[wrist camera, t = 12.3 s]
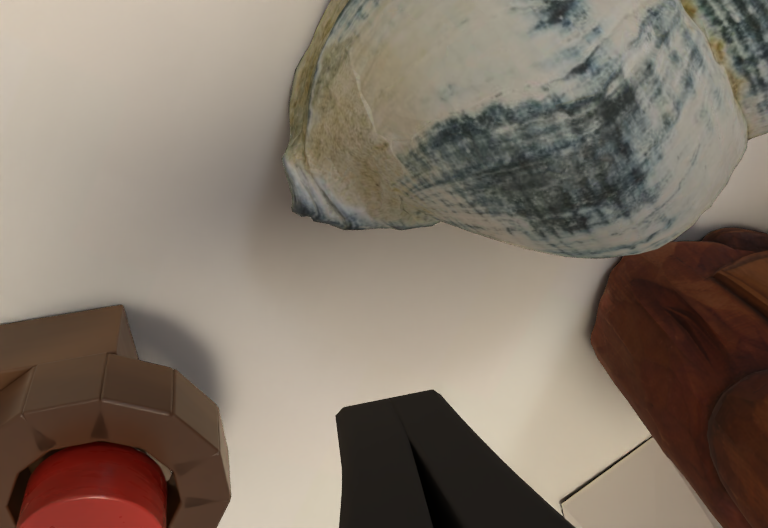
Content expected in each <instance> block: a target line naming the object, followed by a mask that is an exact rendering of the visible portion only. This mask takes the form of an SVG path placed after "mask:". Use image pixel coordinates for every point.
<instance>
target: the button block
mask: <svg viewBox="0 0 768 528" xmlns="http://www.w3.org/2000/svg"><path fill="white" fill-rule="evenodd" d="M91 442H110V443H115V444H120V445H126V446H130V447H133V448H136V449H138V450H140V451H142V452H144V453H145V454H147V455H148V456H150V457H151V458H152V459H153V460H154V461H155V462H156V463H157V464H158V465H159V466H160V468H161V470H162V471H163V473H164V475H165V478H166V482H167V514H166V528H217V526H218V524H219V522H220V520H221V518H222V516H223V514H224V512H225V510H226V508H227V506H228V504H229V502H230V499H231V486H230V471H229V455H228V448H227V443H226V439H225V434H224V430H223V425H222V421H221V416H220V412H219V408H218V407H217V405H216V404H215V403H214V402H213V401H212V400H211V399H210V398H208V397H207V396H206V395H205V394H204V393H203V392H202V391H200V390H199V389H198V388H197V387H196V386H195V385H193V384H192V383H191V382H190V381H189V380H188V379H187V378H185V377H184V376H183V375H182V374H181V373H180V372H178V371H177V370H176V369H174V370H173V369H172V368H170V367H166V366H162V365H158V364H153V363H149V362H145V361H141V360H139V359H138V356H137V352H136V349H135V345H134V341H133V338H132V334H131V331H130V327H129V324H128V320H127V317H126V313H125V310H124V306H123V305H116V306H111V307H105V308H99V309H93V310H87V311H81V312H75V313H69V314H63V315H57V316H51V317H45V318H39V319H33V320H27V321H21V322H15V323H9V324H3V325H0V528H16V525H17V521H18V517H19V514H20V510H21V506H22V502H23V498H24V494H25V490H26V487H27V483H28V480H29V478H30V476H31V474H32V473H33V471H34V470H35V469H36V468H37V467H38V466H39V464H40V463H41V462H43V461H44V460H45V459H46V458H48V457H49V456H51V455H52V454H54V453H56V452H58V451H60V450H62V449H64V448H67V447H71V446H76V445H81V444H86V443H91ZM170 470H171V471H172V475H171V472H170Z"/></svg>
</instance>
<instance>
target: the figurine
mask: <svg viewBox="0 0 768 528" xmlns="http://www.w3.org/2000/svg"><path fill="white" fill-rule="evenodd" d="M561 505H562V509H563V513H564V518H565V519H566V520H567V521H569V522H570V523H571V524H572V525H573V526H574V527H576V528H723V527H722V526H721V525H720V524H719V522H718V521H717V520H716V519H715V517H714V516H713V515H712V514H711V513H710V511H709V510H708V508H707V507H706V506H705V504H704V503H703V502H702V500H701V499H700V498H699V496H698V495H697V493H696V492H695V491H694V489H693V488H692V486H691V485H690V484H689V482H688V481H687V480H686V479H685V477H684V476H683V475H682V474H681V472H680V471H679V470H678V469H677V468H676V466H675V465H674V464H673V463H672V461H671V460H670V459H669V458H668V457H667V456H666V455H665V454H664V452H663V451H662V449H661V448H660V446H659V445H658V443H657V442H656V440H655V439H654V438H653V437H652V438H651V439H649V440H648V441H647V442H645V443H644V444H643V445H641V446H640V447H639V448H637V449H636V450H634V451H633V452H632V453H630V454H629V455H628V456H626V457H625V458H624V459H622V460H621V461H619V462H618V463H617V464H615V465H614V466H613V467H611V468H610V469H609V470H607V471H606V472H604V473H603V474H602V475H600V476H599V477H598V478H596V479H595V480H594V481H592V482H591V483H589V484H588V485H587V486H585V487H584V488H583V489H581V490H580V491H579V492H577V493H576V494H574V495H573V496H572V497H570V498H569V499H568V500H566V501H565V502H564V503H562V504H561Z"/></svg>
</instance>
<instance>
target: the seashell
mask: <svg viewBox="0 0 768 528" xmlns="http://www.w3.org/2000/svg"><path fill="white" fill-rule="evenodd" d="M289 122H290V134H291V135H290V140H289V144H288V146H287V149H286V151H285V153H284V155H283V157H282V162H283V166H284V170H285V174H286V177H287V180H288V183H289V187H290V191H291V194H292V207H291V209H292V211H293V212H294V213H296V214H298V215H299V216H301V217H305V216H308V217H311V218H312V219H313V221H315V222H320V223H325V224H330V225H332V226H335V227H337V228H340V229H343V230H363V229H377V228H392V229H398V230H406V229H412V228H420V227H429V226H433V225H435V224H437V223H438V222H440V221H442V222H445V223H448V224H450V225H453V226H456V227H459V228H461V229H464V230H467V231H470V232H473V233H476V234H479V235H482V236H485V237H489V238H492V239H495V240H498V241H501V242H504V243H507V244H511V245H514V246H518V247H521V248H525V249H529V250H534V251H538V252H543V253H548V254H554V255H559V256H564V257H576V258H610V257H618V256H627V255H635V254H641V253H644V252H648V251H652V250H655V249H658V248H660V247H662V246H663V245H665V244H667V243H669V242H670V241H672V240H674V239H675V238H677V237H678V236H679V235H681V234H682V233H683V232H685V231H686V230H687V229H689V228H690V227H691V226H693V225H694V224H695V222H696V221H697V220H698V218H699V217H700V215H701V214H702V213H704V212H705V211H706V210H707V209H708V208H710V207H711V206H712V204H713V202H714V201H715V199H716V198H717V196H718V195H719V194H720V192H721V191H722V190H723V189H724V187H725V186H726V185H727V183H728V181H729V178H730V176H731V174H732V172H733V170H734V169H735V167H736V166H737V165H738V163H739V162H740V160H741V158H742V156H743V154H744V152H745V150H746V148H747V141H748V140H749V139H751V138H754V137H757V136H759V135H763V134H766V133H768V0H331V1H330V3H329V5H328V7H327V9H326V11H325V12H324V14H323V16H322V18H321V21H320V23H319V25H318V27H317V29H316V32H315V34H314V37H313V39H312V42H311V44H310V46H309V48H308V49H307V51H306V53H305V55H304V56H303V57H302V59H301V61H300V63H299V64H298V66H297V68H296V70H295V75H294V80H293V84H292V90H291V96H290V102H289Z"/></svg>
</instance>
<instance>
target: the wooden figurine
mask: <svg viewBox="0 0 768 528" xmlns="http://www.w3.org/2000/svg"><path fill="white" fill-rule="evenodd" d="M590 340H591V345H592V347H593V349H594V351H595V353H596V356H597V358H598V360H599V361H600V363H601V364H602V366H603V367H604V369H605V370H606V372H607V373H608V375H609V376H610V378H611V379H612V381H613V382H614V384H615V385H616V386H617V388H618V389H619V390H620V391H621V393H622V394H623V395H624V397H625V398H626V399H627V401H628V402H629V403H630V405H631V406H632V408H633V409H634V411H635V412H636V413H637V415H638V416H639V417H640V419H641V420H642V422H643V423H644V425H645V426H646V427H647V429H648V430H649V432H650V433H651V435H652V436H653V438H654V439H655V440H656V442H657V443H658V445H659V446H660V448H661V449H662V451H663V452H664V454H665V455H666V456H667V457H668V458H669V459H670V460H671V461H672V463H673V464H674V465H675V466H676V468H677V469H678V470H679V471H680V472H681V474H682V475H683V476H684V477H685V479H686V480H687V481H688V482H689V484H690V485H691V486H692V488H693V489H694V491H695V492H696V493H697V495H698V496H699V498H700V499H701V500H702V502H703V503H704V504H705V506H706V507H707V508H708V510H709V511H710V513H711V514H712V515H713V516H714V517H715V519H716V520H717V521H718V522H719V524H720V525H721V526H722V527H723V528H768V234H766V233H762V232H758V231H752V230H747V229H741V228H722V229H718V230H715V231H711V232H710V233H709V234H707V235H706V236H705V237H704V238H703V240H702V241H681V242H675V241H670V242H669V243H667V244H665V245H663V246H662V247H660V248H658V249H655V250H652V251H648V252H644V253H641V254H635V255H627V256H623V257H622V259H621V261H620V262H619V263H618V264H617V265H616V267H615V268H614V269H613V270H612V271H611V273H610V275H609V279H608V282H607V285H606V288H605V291H604V293H603V295H602V297H601V300H600V302H599V305H598V310H597V317H596V322H595V325H594V329H593V331H592V333H591V339H590Z"/></svg>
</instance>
